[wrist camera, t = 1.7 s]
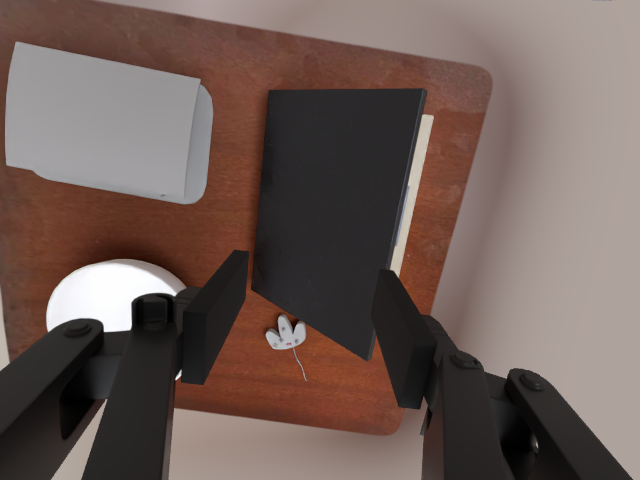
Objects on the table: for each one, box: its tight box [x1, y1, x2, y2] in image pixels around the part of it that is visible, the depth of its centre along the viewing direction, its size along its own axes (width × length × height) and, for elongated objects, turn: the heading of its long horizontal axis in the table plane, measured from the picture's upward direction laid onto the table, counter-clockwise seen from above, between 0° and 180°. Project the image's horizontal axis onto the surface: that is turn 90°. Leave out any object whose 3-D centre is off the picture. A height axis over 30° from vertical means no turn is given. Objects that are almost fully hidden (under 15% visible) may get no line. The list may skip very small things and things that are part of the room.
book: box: [5, 42, 213, 204], centre depth 39 cm, size 15×23×4 cm, turn 79°
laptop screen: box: [251, 88, 427, 361], centre depth 35 cm, size 19×25×1 cm
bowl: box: [46, 259, 187, 380], centre depth 43 cm, size 18×18×7 cm
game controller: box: [266, 314, 307, 381], centre depth 48 cm, size 6×12×3 cm, turn 35°
